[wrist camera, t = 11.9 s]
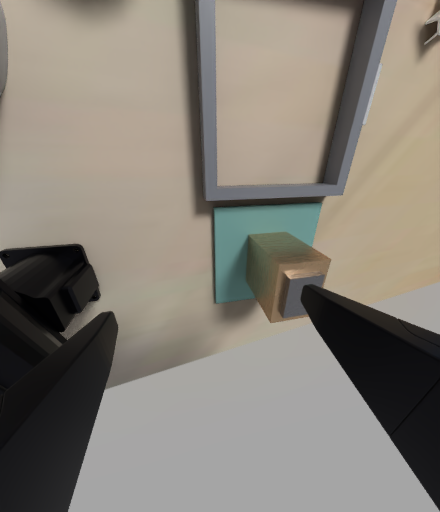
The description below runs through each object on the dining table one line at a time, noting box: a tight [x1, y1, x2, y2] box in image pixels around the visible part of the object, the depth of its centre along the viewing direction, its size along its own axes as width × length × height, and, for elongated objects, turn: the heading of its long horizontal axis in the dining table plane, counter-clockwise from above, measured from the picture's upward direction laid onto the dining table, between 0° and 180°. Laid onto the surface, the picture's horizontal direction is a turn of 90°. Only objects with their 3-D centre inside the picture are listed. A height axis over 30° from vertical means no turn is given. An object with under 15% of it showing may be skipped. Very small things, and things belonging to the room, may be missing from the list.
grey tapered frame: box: [195, 0, 397, 201], centre depth 15 cm, size 15×16×2 cm
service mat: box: [214, 202, 322, 304], centre depth 22 cm, size 12×12×1 cm
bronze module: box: [246, 232, 331, 323], centre depth 19 cm, size 4×6×8 cm
